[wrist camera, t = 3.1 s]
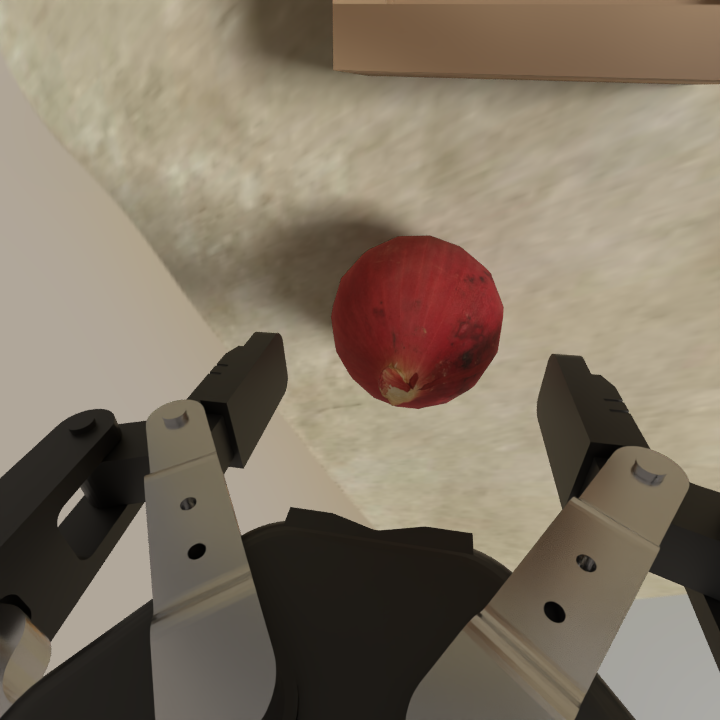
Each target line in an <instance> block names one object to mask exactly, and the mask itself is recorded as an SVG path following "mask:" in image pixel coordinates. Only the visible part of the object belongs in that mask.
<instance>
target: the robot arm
mask: <svg viewBox="0 0 720 720" xmlns="http://www.w3.org/2000/svg"><path fill="white" fill-rule="evenodd" d="M287 381H288V374H287V367H286V360H285V353H284V346H283V340H282V337H281V335H280V334H279V333H267V332H255V333H254V334H253V335H252V336H251V338H250V339H249V340H248V341H247V342H246V344H245V345H244V346H238V347H236V348H234V349H233V350H231V351H229V352H228V353H226V354H225V355H224V356H223V357H222V359H221V360H220V361H219V362H218V363H217V366H215V367H214V368H213V369H212V370H211V371H210V374H208V375H207V376H206V377H205V378H204V380H203V381H202V382H201V383H200V384H199V386H198V387H197V388H196V389H195V390H194V391H193V392H192V394H191V395H190V396H189V397H188V398H187V399H186V400H177V401H173V402H170V403H167V404H165V405H163V406H161V407H159V408H158V409H156V410H155V411H154V412H153V413H152V414H151V415H150V416H149V417H148V419H147V421H141V422H133V423H125V424H118V423H117V421H116V419H115V416H114V414H113V413H112V412H110V411H108V410H105V409H93V410H87V411H84V412H81V413H78V414H75V415H73V416H71V417H69V418H67V419H66V420H64V421H63V422H61V423H60V424H59V425H58V426H57V427H56V428H55V429H53V430H52V431H51V432H50V433H49V434H48V435H47V436H46V437H45V438H44V439H43V440H41V441H40V442H39V443H38V444H37V445H36V446H35V447H34V448H33V449H32V450H31V451H29V452H28V453H27V454H26V455H25V456H24V457H23V458H22V459H21V460H20V461H19V462H17V463H16V464H15V465H14V466H13V467H12V468H11V469H10V470H9V471H8V472H7V473H6V474H5V475H4V476H2V477H1V478H0V720H636V719H635V718H634V717H633V716H632V715H631V713H630V712H629V711H628V710H627V708H626V707H625V706H624V705H623V704H622V702H621V701H620V700H619V699H618V697H617V696H616V695H615V694H614V693H613V691H612V690H611V689H610V688H609V686H608V685H607V684H606V683H605V682H604V680H603V679H602V678H601V677H600V675H599V674H598V673H597V671H598V669H599V667H600V665H601V663H602V661H603V659H604V657H605V656H606V653H607V652H608V649H609V648H610V646H611V644H612V641H613V639H614V638H615V636H616V634H617V632H618V630H619V628H620V626H621V624H622V622H623V620H624V618H625V616H626V614H627V613H628V611H629V609H630V607H631V605H632V603H633V601H634V599H635V597H636V595H637V593H638V591H639V589H640V587H641V585H642V583H643V581H644V579H645V577H646V575H647V573H648V572H651V573H653V574H656V575H658V576H661V577H663V578H665V579H668V580H670V581H673V582H675V583H677V584H680V585H682V586H684V587H685V589H686V592H687V594H688V596H689V599H690V601H691V604H692V606H693V609H694V611H695V613H696V616H697V618H698V621H699V623H700V625H701V628H702V630H703V632H704V635H705V638H706V640H707V642H708V645H709V647H710V649H711V652H712V654H713V657H714V659H715V662H716V664H717V666H718V669H719V671H720V493H719V492H716V491H713V490H710V489H707V488H704V487H701V486H698V485H695V484H692V483H690V482H689V479H688V477H687V475H686V473H685V472H684V471H683V469H682V468H681V467H680V466H679V465H678V464H677V463H675V462H674V461H673V460H671V459H670V458H668V457H667V456H665V455H663V454H661V453H659V452H656V451H654V450H651V449H650V448H649V446H648V444H647V442H646V441H645V439H644V437H643V435H642V433H641V432H640V430H639V428H638V426H637V425H636V423H635V421H634V419H633V418H632V416H631V414H629V413H628V412H629V410H628V409H627V407H626V405H625V403H622V398H621V396H620V395H619V393H618V391H617V389H616V388H615V386H613V385H612V384H611V383H610V382H608V381H607V380H606V379H605V378H604V377H602V376H601V375H593V374H591V373H590V371H589V369H588V367H587V365H586V363H585V361H584V359H583V357H582V356H575V355H561V354H552V355H551V356H550V358H549V360H548V363H547V367H546V371H545V374H544V378H543V382H542V385H541V389H540V392H539V396H538V401H537V418H538V422H539V425H540V429H541V433H542V436H543V440H544V444H545V447H546V451H547V455H548V458H549V462H550V466H551V469H552V473H553V477H554V480H555V484H556V488H557V491H558V495H559V499H560V502H561V506H562V511H561V512H560V513H559V515H558V516H557V517H556V518H555V520H554V521H553V522H552V523H551V525H550V526H549V527H548V529H547V530H546V531H545V532H544V534H543V535H542V536H541V537H540V539H539V540H538V541H537V543H536V544H535V545H534V546H533V548H532V549H531V550H530V551H529V553H528V554H527V555H526V556H525V558H524V559H523V560H522V562H521V563H520V564H519V565H518V567H517V568H516V569H515V570H514V572H513V573H512V572H511V571H510V570H509V569H507V568H506V567H505V566H504V565H502V564H501V563H499V562H498V561H496V560H495V559H493V558H492V557H490V556H488V555H486V554H484V553H482V552H480V551H477V550H475V549H473V535H472V533H466V532H459V531H452V530H445V529H438V528H431V527H415V528H404V529H392V530H373V529H370V528H368V527H365V526H363V525H360V524H358V523H356V522H353V521H351V520H348V519H346V518H343V517H340V516H338V515H336V514H333V513H327V512H321V511H314V510H306V509H299V508H293V507H290V510H289V512H288V515H287V518H286V520H285V521H282V522H276V523H271V524H267V525H265V526H261V527H258V528H256V529H254V530H251V531H249V532H247V533H245V534H244V535H242V536H241V532H240V529H239V526H238V522H237V519H236V515H235V512H234V509H233V505H232V502H231V498H230V495H229V491H228V488H227V484H226V481H225V478H224V473H225V472H226V470H227V468H228V467H236V468H244V467H245V465H246V463H247V461H248V459H249V457H250V456H251V454H252V452H253V450H254V448H255V447H256V445H257V443H258V441H259V439H260V438H261V436H262V434H263V432H264V430H265V428H266V427H267V425H268V423H269V421H270V419H271V417H272V415H273V414H274V412H275V410H276V408H277V406H278V405H279V403H280V401H281V399H282V397H283V395H284V394H285V391H286V388H287ZM80 487H81V489H82V491H83V492H84V494H85V495H84V496H83V498H82V499H81V500H80V501H79V502H78V504H77V505H76V506H75V507H74V509H73V510H72V511H71V512H70V513H69V515H68V516H67V517H66V518H65V519H64V521H63V522H62V523H61V524H60V525H59V527H57V519H58V516H59V513H60V511H61V509H62V507H63V506H64V505H65V504H66V503H67V501H68V500H69V499H70V498H71V497H72V496H73V494H74V493H75V492H76V491H77V490H78V489H79V488H80ZM144 502H146V514H147V527H148V541H149V554H150V566H151V579H152V593H153V599H151V600H150V601H149V602H147V603H146V604H145V605H143V606H142V607H140V608H139V609H137V610H136V611H135V612H133V613H132V614H131V615H129V616H128V617H126V618H125V619H124V620H122V621H121V622H119V623H118V624H117V625H115V626H114V627H112V628H111V629H110V630H108V631H107V632H105V633H104V634H103V635H101V636H100V637H98V638H97V639H96V640H94V641H93V642H91V643H90V644H89V645H87V646H86V647H84V648H83V649H82V650H80V651H79V652H77V653H76V654H75V655H73V656H72V657H71V658H69V659H68V660H66V661H65V662H63V663H62V664H61V665H59V666H58V667H56V668H55V669H54V670H52V671H51V672H49V673H48V674H47V675H45V676H43V674H44V673H45V671H46V669H47V667H48V663H49V661H50V657H51V643H50V642H51V641H52V639H53V638H54V636H55V634H56V633H57V632H58V630H59V629H60V627H61V626H62V624H63V623H64V621H65V620H66V618H67V617H68V615H69V614H70V612H71V611H72V609H73V608H74V606H75V605H76V603H77V602H78V600H79V599H80V597H81V596H82V594H83V593H84V591H85V590H86V588H87V587H88V586H89V584H90V583H91V581H92V580H93V578H94V576H95V575H96V574H97V572H98V571H99V569H100V568H101V566H102V565H103V563H104V562H105V560H106V559H107V557H108V556H109V554H110V553H111V551H112V550H113V548H114V547H115V545H116V544H117V542H118V540H119V539H120V538H121V536H122V535H123V533H124V532H125V530H126V529H127V527H128V526H129V524H130V523H131V521H132V520H133V518H134V517H135V515H136V514H137V512H138V511H139V510H140V508H141V506H142V505H143V504H144Z"/></svg>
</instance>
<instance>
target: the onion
mask: <svg viewBox="0 0 720 720" xmlns="http://www.w3.org/2000/svg"><path fill="white" fill-rule="evenodd" d="M503 308H504V307H503V304H502V302H501V299H500V297H499V294H498V291H497V289H496V286H495V283H494V281H493V278H492V275H491V273H490V272H489V271H488V270H487V269H486V268H485V267H484V266H483V265H482V264H480V263H479V262H478V261H477V260H476V259H475V258H473V257H472V256H471V255H470V254H469V253H467V252H466V251H465V250H464V249H463V248H461V247H460V246H457V245H454V244H452V243H449V242H446V241H443V240H441V239H438V238H435V237H432V236H398V237H396V238H393V239H391V240H389V241H387V242H384V243H382V244H380V245H378V246H375V247H373V248H371V249H369V250H368V251H366V252H365V253H364V254H363V255H362V256H361V257H360V258H359V259H358V260H357V261H356V262H355V264H354V265H353V266H352V267H351V268H350V269H349V270H348V271H347V272H346V274H345V275H344V276H343V277H342V278H341V281H340V284H339V288H338V291H337V294H336V298H335V301H334V304H333V309H332V315H331V319H332V327H333V334H334V341H335V347H336V352H337V354H338V355H339V357H340V359H341V361H342V362H343V364H344V366H345V367H346V369H347V371H348V373H349V374H350V376H351V377H352V378H353V379H354V380H355V381H356V382H357V383H358V384H359V385H360V386H361V387H363V388H364V389H365V390H366V391H367V392H368V393H369V394H370V395H372V396H373V397H374V398H376V399H379V400H381V401H384V402H386V403H389V404H391V405H392V406H397V407H406V408H415V409H420V408H424V407H429V406H434V405H439V404H444V403H447V402H449V401H451V400H452V399H454V398H456V397H458V396H459V395H461V394H463V393H464V392H466V391H468V390H469V389H471V388H472V387H473V386H475V384H476V383H477V382H478V380H479V379H480V377H481V376H482V374H483V373H484V371H485V370H486V369H487V367H488V366H489V364H490V363H491V361H492V360H493V358H494V357H495V355H496V354H497V352H498V346H499V339H500V333H501V327H502V320H503Z"/></svg>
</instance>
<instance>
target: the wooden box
mask: <svg viewBox="0 0 720 720" xmlns="http://www.w3.org/2000/svg"><path fill="white" fill-rule="evenodd" d="M333 70H336V71H342V72H348V73H355V74H361V75H368V76H401V77H438V78H474V79H511V80H547V81H584V82H621V83H657V84H720V0H333Z"/></svg>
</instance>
